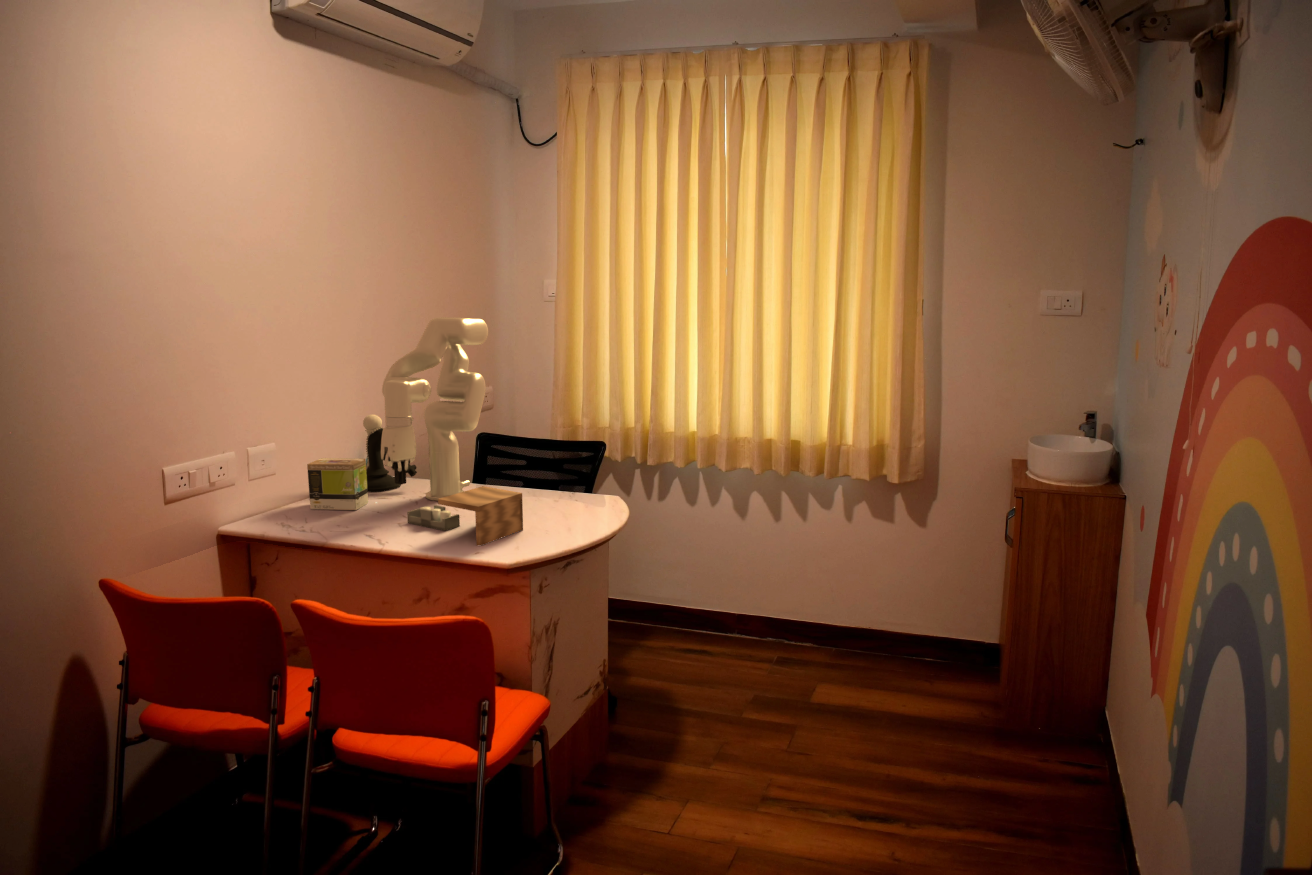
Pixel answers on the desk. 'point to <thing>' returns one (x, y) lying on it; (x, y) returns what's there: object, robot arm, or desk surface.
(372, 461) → the sculpture
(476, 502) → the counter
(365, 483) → the tea box
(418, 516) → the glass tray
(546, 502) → the desk surface
